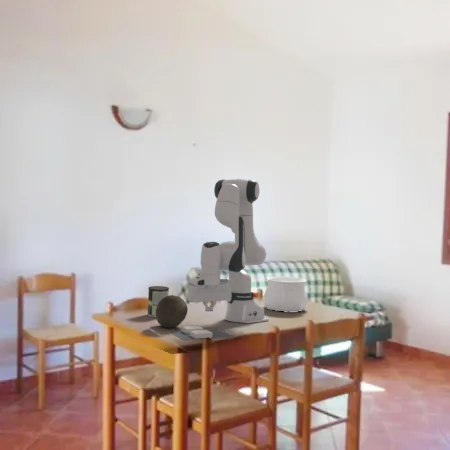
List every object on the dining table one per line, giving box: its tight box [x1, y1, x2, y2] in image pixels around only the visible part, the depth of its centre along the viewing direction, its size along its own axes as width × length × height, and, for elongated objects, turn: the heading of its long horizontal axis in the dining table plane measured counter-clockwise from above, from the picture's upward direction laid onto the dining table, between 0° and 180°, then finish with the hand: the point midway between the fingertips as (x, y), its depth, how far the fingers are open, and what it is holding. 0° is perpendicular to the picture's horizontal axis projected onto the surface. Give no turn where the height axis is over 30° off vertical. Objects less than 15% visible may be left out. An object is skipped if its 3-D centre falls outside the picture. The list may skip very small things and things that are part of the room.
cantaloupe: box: [155, 294, 189, 329], centre depth 292 cm, size 14×14×15 cm
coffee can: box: [147, 285, 170, 318], centre depth 320 cm, size 10×10×14 cm
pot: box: [263, 276, 308, 312], centre depth 353 cm, size 26×24×17 cm
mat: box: [168, 328, 234, 341], centre depth 280 cm, size 24×17×1 cm
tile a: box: [180, 325, 204, 334], centre depth 283 cm, size 2×6×8 cm
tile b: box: [190, 330, 212, 340], centre depth 275 cm, size 2×6×8 cm
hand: (209, 311), depth 276 cm, fingers closed
